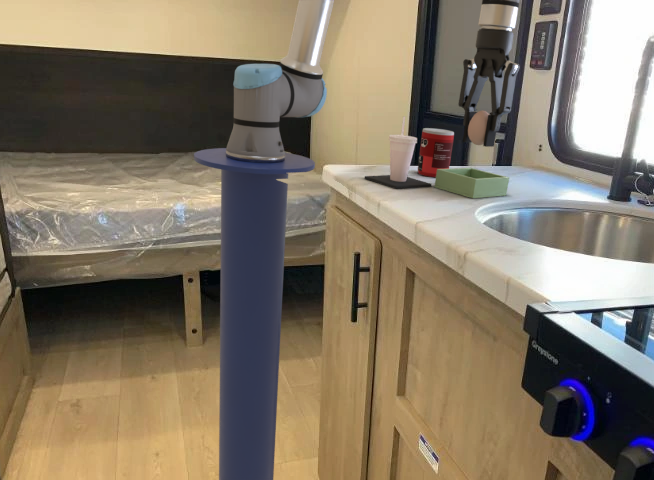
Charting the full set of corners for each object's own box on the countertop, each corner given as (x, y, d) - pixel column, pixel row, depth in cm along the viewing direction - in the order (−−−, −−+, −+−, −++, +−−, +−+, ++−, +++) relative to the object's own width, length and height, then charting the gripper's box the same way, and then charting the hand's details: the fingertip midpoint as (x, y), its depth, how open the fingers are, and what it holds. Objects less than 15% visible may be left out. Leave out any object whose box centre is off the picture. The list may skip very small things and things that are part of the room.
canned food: (423, 170, 157) (428, 127, 153) (452, 175, 154) (458, 131, 150) (412, 173, 151) (418, 128, 147) (442, 179, 148) (448, 133, 144)
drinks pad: (364, 178, 138) (364, 176, 138) (399, 176, 145) (399, 174, 144) (396, 188, 130) (396, 186, 130) (431, 186, 137) (431, 183, 137)
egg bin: (434, 187, 137) (436, 169, 135) (467, 184, 144) (470, 167, 142) (472, 198, 129) (475, 179, 127) (506, 195, 136) (509, 177, 134)
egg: (475, 143, 136) (480, 109, 133) (494, 146, 132) (500, 112, 130) (460, 143, 132) (466, 108, 130) (480, 147, 129) (485, 111, 126)
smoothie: (401, 176, 141) (408, 115, 136) (417, 182, 136) (425, 119, 131) (379, 177, 138) (385, 114, 133) (394, 183, 133) (402, 117, 128)
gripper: (544, 32, 120) (522, 150, 128) (474, 30, 132) (458, 137, 141) (521, 28, 115) (500, 151, 124) (451, 26, 128) (436, 137, 136)
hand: (478, 143), depth 132 cm, fingers closed on egg, 5 cm apart
